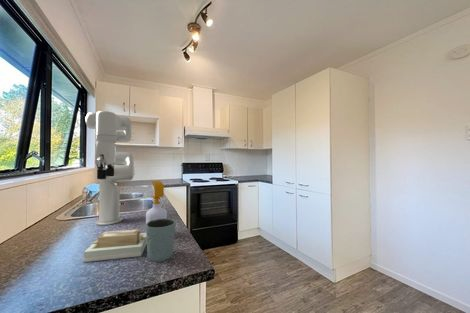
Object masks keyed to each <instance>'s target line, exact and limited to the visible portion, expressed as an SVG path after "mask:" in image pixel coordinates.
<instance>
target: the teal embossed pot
mask: <svg viewBox="0 0 470 313" xmlns="http://www.w3.org/2000/svg"><path fill="white" fill-rule="evenodd" d="M176 222H177V221H176V220H175V219H173V218H168V217H167V218H162V219H155V220H152V221H149V222H147V223H146V222H145V233H146V235H147V244H146V249H147V250H146V251H147V252H146V253H147V255H146V256H147V260H148V261H150V262H154V263H155V262H156V263H157V262H163V261H166V260H168V259H170V258H172V256H173V254H174V245H175V241H174V240H175V235H176V234H175V233H176Z"/></svg>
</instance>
